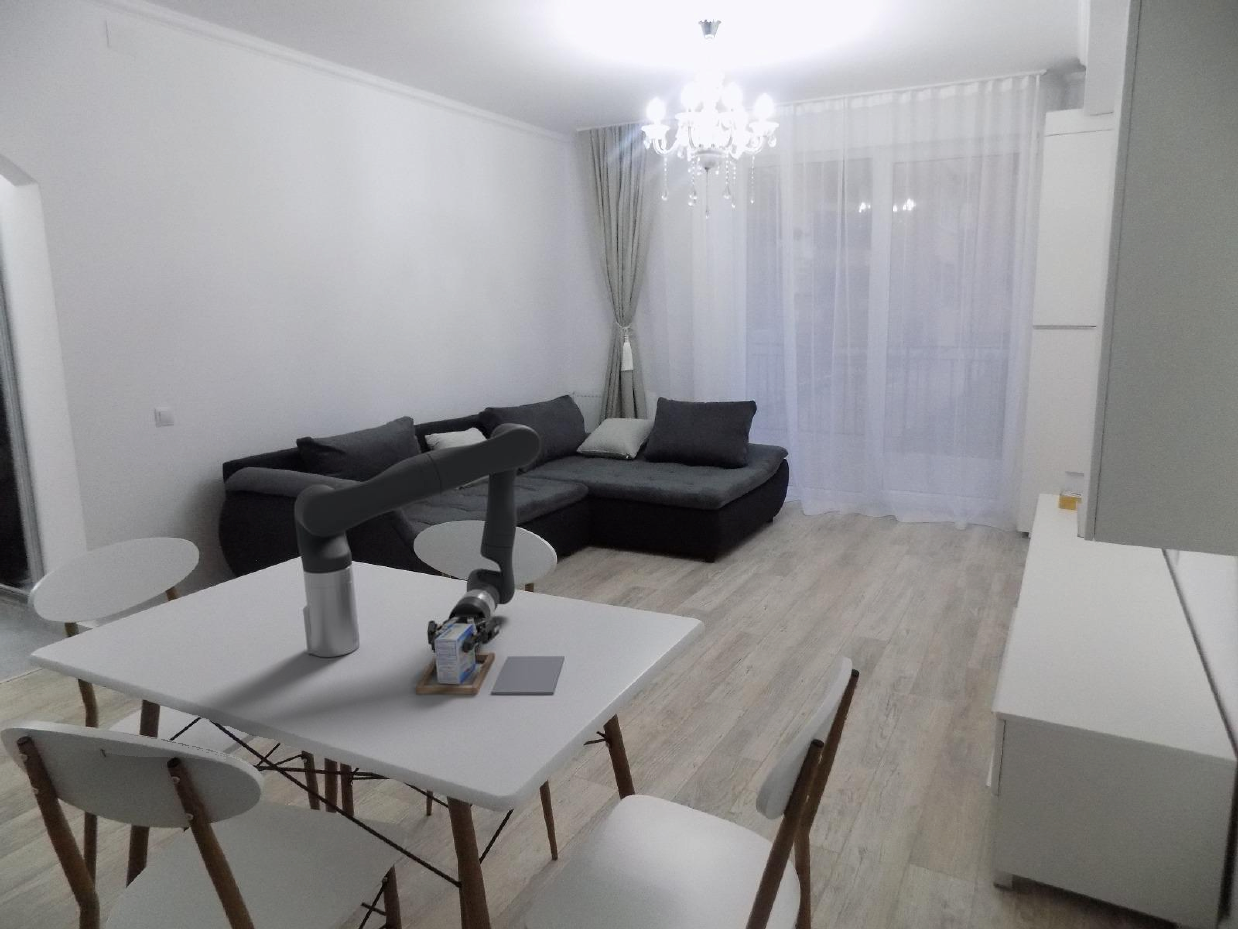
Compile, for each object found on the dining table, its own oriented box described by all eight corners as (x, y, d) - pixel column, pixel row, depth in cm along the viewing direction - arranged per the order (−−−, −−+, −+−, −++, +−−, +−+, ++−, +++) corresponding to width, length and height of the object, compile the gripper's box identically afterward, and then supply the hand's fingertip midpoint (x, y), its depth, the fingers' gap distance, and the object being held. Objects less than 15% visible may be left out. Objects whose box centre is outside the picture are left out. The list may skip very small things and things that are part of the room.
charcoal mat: (491, 694, 145) (490, 692, 145) (507, 658, 159) (507, 656, 159) (553, 694, 144) (553, 692, 144) (564, 658, 159) (564, 656, 159)
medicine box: (460, 686, 148) (457, 640, 147) (436, 684, 149) (433, 638, 148) (476, 667, 156) (473, 623, 154) (453, 665, 157) (451, 622, 155)
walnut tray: (415, 694, 146) (414, 687, 145) (438, 658, 160) (438, 652, 160) (477, 694, 145) (476, 687, 145) (494, 658, 160) (494, 652, 159)
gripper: (436, 596, 165) (409, 628, 148) (507, 595, 164) (488, 628, 147) (439, 631, 167) (413, 667, 150) (509, 631, 166) (491, 667, 149)
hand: (450, 647), depth 149 cm, fingers closed on medicine box, 5 cm apart
